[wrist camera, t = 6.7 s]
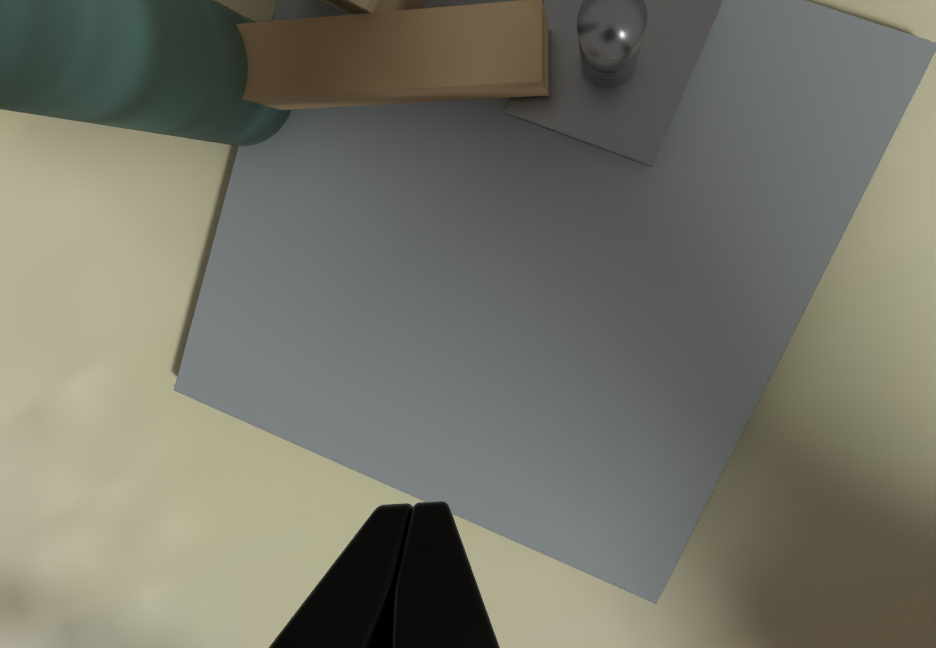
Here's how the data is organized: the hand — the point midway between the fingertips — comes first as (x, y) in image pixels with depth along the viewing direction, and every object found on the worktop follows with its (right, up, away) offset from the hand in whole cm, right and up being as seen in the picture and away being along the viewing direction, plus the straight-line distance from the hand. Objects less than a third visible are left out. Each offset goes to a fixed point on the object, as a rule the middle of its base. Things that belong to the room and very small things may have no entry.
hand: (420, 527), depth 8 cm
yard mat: (+1, +5, +9) cm, 10 cm away
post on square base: (+4, +8, +7) cm, 12 cm away
